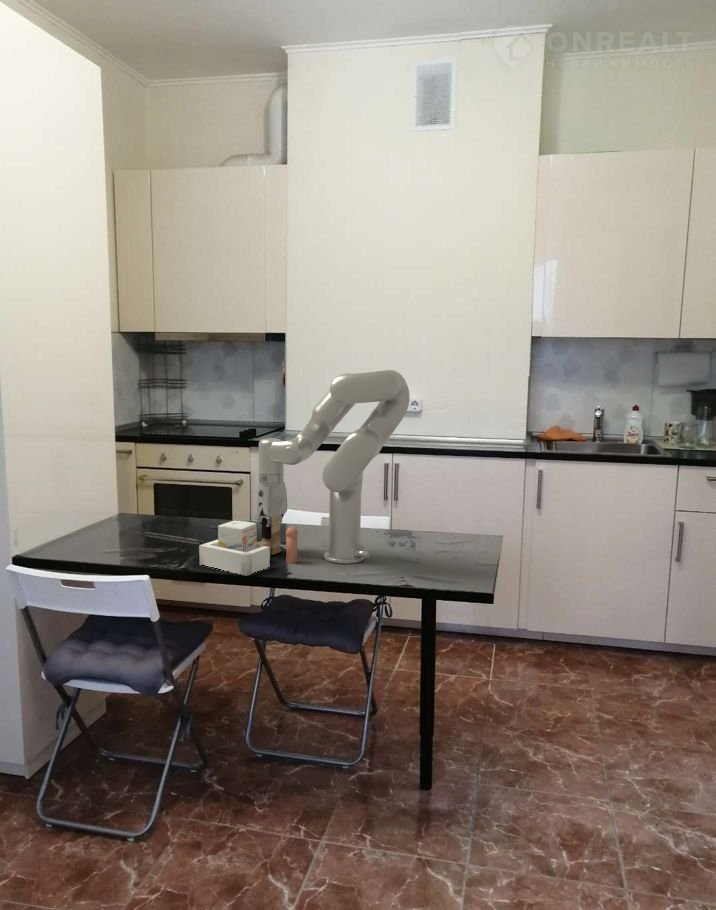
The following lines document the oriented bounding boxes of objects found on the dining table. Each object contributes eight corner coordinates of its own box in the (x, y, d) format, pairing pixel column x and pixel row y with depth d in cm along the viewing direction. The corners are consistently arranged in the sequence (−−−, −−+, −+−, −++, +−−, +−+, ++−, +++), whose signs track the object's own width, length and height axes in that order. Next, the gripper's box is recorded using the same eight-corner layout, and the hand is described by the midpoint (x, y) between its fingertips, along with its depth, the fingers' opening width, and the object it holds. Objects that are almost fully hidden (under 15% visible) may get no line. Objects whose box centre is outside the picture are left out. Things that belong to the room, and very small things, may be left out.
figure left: (300, 561, 217) (300, 526, 215) (292, 564, 214) (292, 529, 212) (290, 559, 219) (290, 525, 217) (283, 562, 216) (283, 527, 214)
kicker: (288, 553, 224) (288, 509, 222) (265, 561, 215) (265, 515, 213) (263, 548, 230) (262, 505, 228) (240, 556, 220) (239, 511, 218)
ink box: (241, 568, 209) (241, 528, 208) (217, 564, 213) (216, 525, 211) (257, 560, 217) (257, 522, 215) (234, 556, 221) (233, 519, 219)
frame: (269, 567, 210) (269, 547, 210) (247, 575, 202) (246, 555, 201) (222, 557, 220) (222, 538, 219) (199, 565, 211) (199, 545, 211)
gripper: (263, 484, 213) (263, 544, 216) (297, 476, 227) (297, 533, 230) (243, 481, 217) (244, 540, 220) (278, 473, 231) (278, 529, 234)
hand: (271, 536), depth 225 cm, fingers closed on kicker, 4 cm apart
